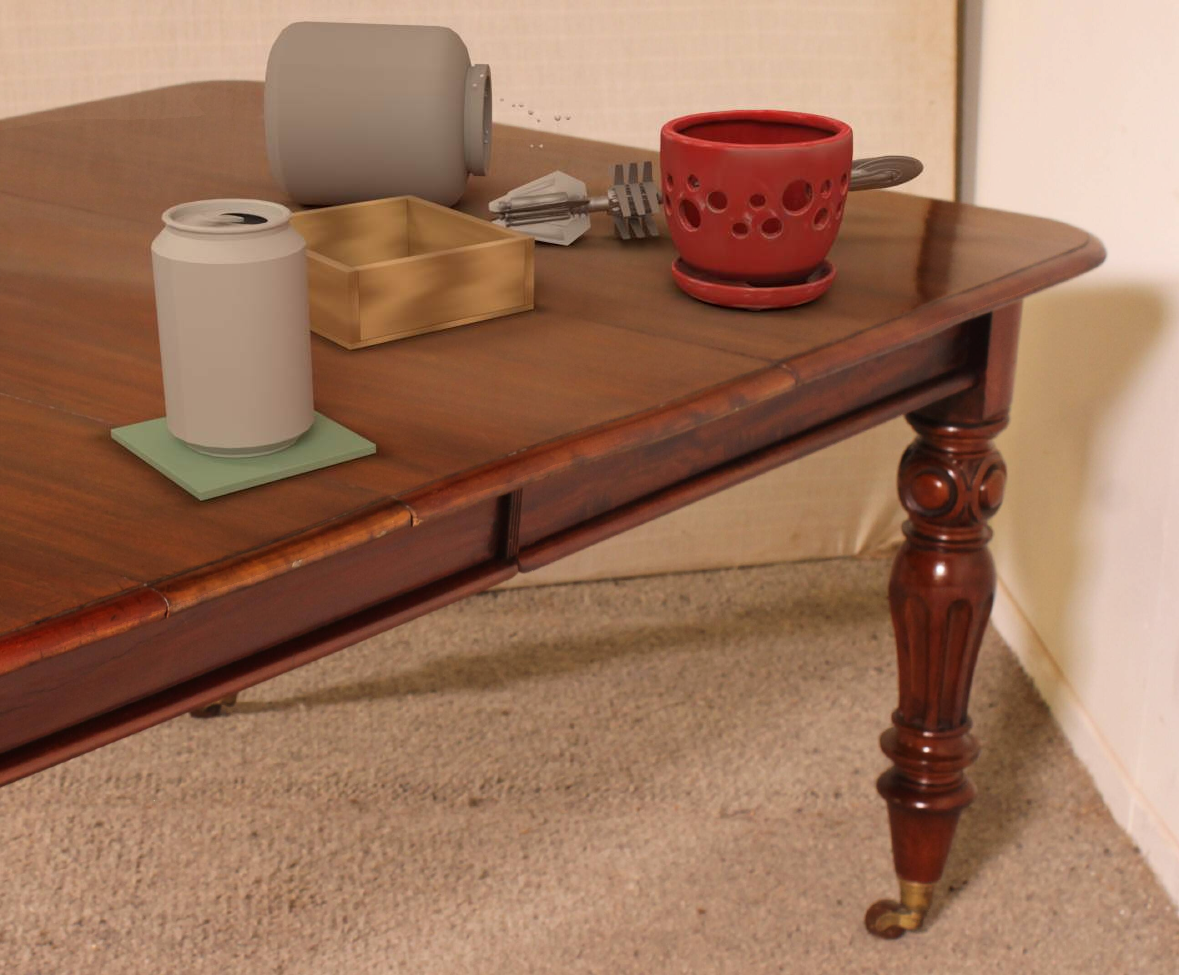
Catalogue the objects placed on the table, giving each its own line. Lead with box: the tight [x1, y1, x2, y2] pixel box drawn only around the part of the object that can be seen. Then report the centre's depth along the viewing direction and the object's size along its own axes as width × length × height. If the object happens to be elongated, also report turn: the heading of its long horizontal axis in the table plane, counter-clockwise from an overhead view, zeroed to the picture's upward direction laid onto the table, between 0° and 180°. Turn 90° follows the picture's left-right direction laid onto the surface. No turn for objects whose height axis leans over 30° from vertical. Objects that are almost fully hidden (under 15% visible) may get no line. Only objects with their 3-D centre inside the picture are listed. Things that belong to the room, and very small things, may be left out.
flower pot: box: [659, 109, 854, 312], centre depth 104 cm, size 13×13×12 cm
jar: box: [263, 21, 572, 208], centre depth 124 cm, size 19×15×25 cm
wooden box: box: [289, 195, 536, 351], centre depth 101 cm, size 15×15×5 cm
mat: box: [110, 409, 377, 502], centre depth 78 cm, size 10×10×1 cm
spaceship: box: [488, 155, 924, 247], centre depth 118 cm, size 8×35×8 cm
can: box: [150, 198, 315, 458], centre depth 75 cm, size 8×8×12 cm
